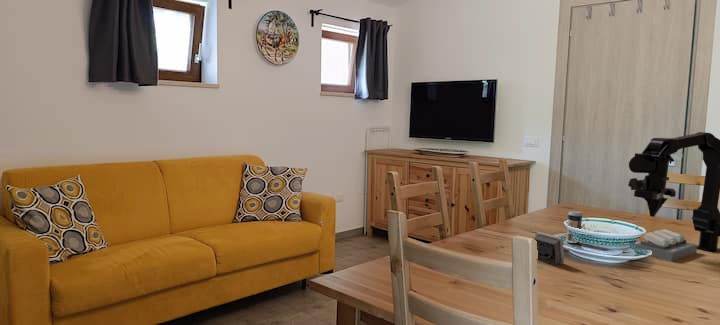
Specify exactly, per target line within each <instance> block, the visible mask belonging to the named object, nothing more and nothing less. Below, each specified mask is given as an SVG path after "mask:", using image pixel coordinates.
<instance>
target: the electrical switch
mask: <svg viewBox="0 0 720 325" xmlns="http://www.w3.org/2000/svg"><path fill="white" fill-rule="evenodd" d="M533 239H535V240H536V241H537V250H538V260H537V261H540V262H544V263H547V264H551V265H554V266H557V265H559V264H560V265H563V264H564V263H565V253H564V240H563V238H562V237H559V236H555V235H553V234H547V233H544V232H540V231H538V232H535V237H533V238H532V240H533Z"/></svg>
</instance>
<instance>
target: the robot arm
mask: <svg viewBox="0 0 720 325" xmlns="http://www.w3.org/2000/svg"><path fill="white" fill-rule="evenodd" d="M690 147H697V149H698V150H699V151H701V153H702V161H703V162H704V165H705V167H706V168H705V176H704V181H703V182H704V183H703V189H702V195H701V203H700V205H699V206H698V208H694V209H693V210H692V217H691V220H692V224H693V229H694V231H695V232H696V231H697V232H699V238H698V244H697V250H699V249H700V250H703V251H707V252H712V253H716V252H719V251H720V247H718V245H719V237H720V210H719V198H720V139H719V138H718V137H716V136H715V135H714V134H713V133H710V132H704V131H699V132H696V133H692V134H686V135H682V136H677V137H672V138H671V137H653V138H651V139H650V142H649V143H648V144H647V145H646V146H645V148H644V149H643V150H642V152H641V153H638V152H637V153H634V156H633V157H632V158H630V160H629V161H628V169H629V170H630V172H632V173H635V174H647V175H645V176H644V178H643V179H638V178H637V177H634V178H629V181H628V185H627V186H628V187H629V188H630V189H631V191H634V193H633V197H636V198H640V199H641V198H642V199H643V200H644V201H645V202H646V203H647V207H648V211H649V212H648V213H649V216H650V217H653V218H654V217H655V216H656V215H657V214H658V212H659V210H660V209H661V208H662V207H663V205H664V204H665V203H666V201H668V198H667V197H665V196H670V198H676V190H675V188H671V187H666V186H667V181H670V177H668V172H669V165H670V162H675V159H674V158H673V157H672V156H671V155H673V154H675V153H677V152H678V151H679V150H682V149H686V148H690Z"/></svg>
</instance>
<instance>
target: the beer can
mask: <svg viewBox="0 0 720 325" xmlns="http://www.w3.org/2000/svg"><path fill="white" fill-rule="evenodd" d="M582 220H583V214H582V212H581V211H579V210H570V211H569V212H568V213H567V225H568V226H571V227H574V228H579V229H581V230H582V222H583V221H582ZM567 225H566V226H567ZM566 240H568V241H573V242H575V240H574V239H573V237H572V236H571V234H570V232H569V230H568V228H567V227H566V236H565V241H566Z"/></svg>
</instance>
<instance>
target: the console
mask: <svg viewBox="0 0 720 325" xmlns="http://www.w3.org/2000/svg"><path fill="white" fill-rule="evenodd" d="M697 246H698V244H693V243H690V242H687V239H684V241H682V242H678V241H677V243H676V244H674V245H672V244H669V246H667V247H664V246H660V245H656V244H654V243H652V242H650V241H648V240H645V241H643V240H640V242H638V243H635V246H634V248H635V247H636V248H641V249H646V250H651V251H652V255H651V256H650V257H652V258H655V259H660V260H664V261H668V262H675V261H676V260H680V259H682V258H683V259H684V258H686V257H689V256H691V255H695V254H696V253H697V250H698V248H697Z"/></svg>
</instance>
